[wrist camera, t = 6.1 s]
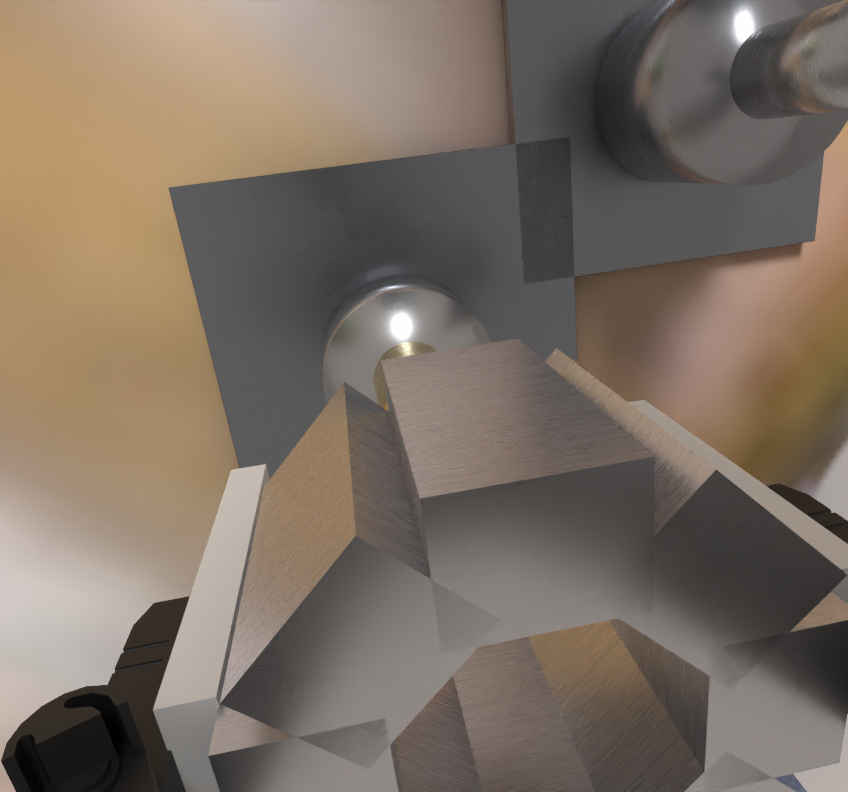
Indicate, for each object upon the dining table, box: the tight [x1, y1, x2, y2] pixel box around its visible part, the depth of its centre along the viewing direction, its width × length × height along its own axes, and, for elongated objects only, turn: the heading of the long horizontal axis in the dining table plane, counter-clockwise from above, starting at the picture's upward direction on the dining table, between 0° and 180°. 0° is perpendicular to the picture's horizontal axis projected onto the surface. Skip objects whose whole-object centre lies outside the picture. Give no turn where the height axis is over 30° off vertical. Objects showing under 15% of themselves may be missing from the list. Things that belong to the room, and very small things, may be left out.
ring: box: [208, 339, 848, 792], centre depth 10 cm, size 8×8×5 cm
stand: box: [502, 0, 848, 284], centre depth 18 cm, size 12×12×10 cm
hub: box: [169, 137, 577, 479], centre depth 20 cm, size 14×14×10 cm
